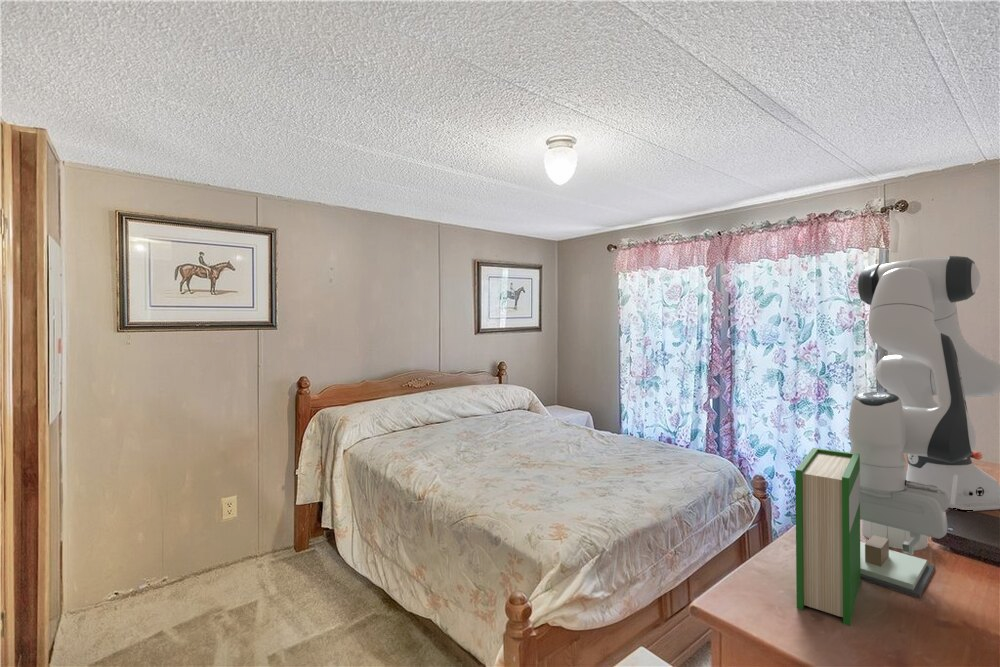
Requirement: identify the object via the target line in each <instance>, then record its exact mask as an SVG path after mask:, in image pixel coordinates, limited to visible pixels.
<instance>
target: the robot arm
mask: <svg viewBox="0 0 1000 667" xmlns="http://www.w3.org/2000/svg"><path fill="white" fill-rule="evenodd" d="M980 282H981V272H980V270H979V268H978V267H977V265H976V264H975V261H974V260H973V259H971V258H969V257H968V256H959V255H958V256H957V255H950V256H949V257H920V258H913V259H907V260H900V261H893V262H889V263H884V264H881V263H876V264H872V265H870V266H866V267H865V268H864V269H863V270H862V271H860V273H859V274H858V278H857V284H856V289H857V293H858V294H859V295H858V296H859V298H860V300H861V301H862V302H864V303H866V305H869V306H870V308H869V314H868V315H869V316H868V334H869V337H870V338H871V340H872V341H874V343H875V344H876V345H877V346H878V347H880V348H882V349H883V350H885V351H886V352H889V353H891V355H889V354H888V355H884V356H883V357H882V358H881V359H880V360H879V361H877V363H876V366H875V370H874V374H875V377H876V380H877V382H878V384H879V385H880V386H881V387H882V388H884V389H885V390H886V391H888V392H886V391H876V390H875V391H874V390H872V391H863V392H860V393H857V394H855V395H854V396H853V397H852V399H851V403H850V404H851V405H850V411H849V416H848V417H849V418H848V419H849V420H848V439H849V441H850V444H851V446H850V451H849V453H857V454H860V521H862V520H865V521H869V522H873V523H877V524H881V525H885V526H889V527H893V528H897V529H901V530H905V531H909V532H910V537H912V538H913V539H912V540H911V541H910V542H907V541H904V543H903V544H902V547H903V549H901V550H902V553H903V554H907V555H910V556H914V554H915V550H914V545H915V544H916V543H917V542H918V541H919V540H920V538H921V537H922V535H925V536H927V537H930V538H934V539H942V538H943V537H945V536H946V535H947V533H948V520H947V513H946V511H948V510H949V508H950V509H953V508H964V509H969V510H973V511H972V512H978V511H991V510H994V511H995V510H1000V483H999V481H998V480H997V479H996V478H994V477H993V476H991V475H990V474H989V473H987V472H985V471H984V470H982V469H981V468H980V467H978V466H977V465H975V464H974V463H973V461H972V459H974V460H978V461H979V460H982V459H983V453H981V452H980V451H975V448H976V443H977V437H976V435H977V434H976V431H975V428H974V425H973V422H972V420H971V418H970V415H969V412H968V407H967V401H966V398H969V399H970V398H984V397H985V398H987V397H993V396H995V395H997V394H998V393H1000V363H999V362H998V361H997V360H995V359H994V358H991V357H989V356H986V355H985V354H983V353H981V352H979V351H978V350H976V349H975V348H974V347H972V346H971V345H970V343H968V342H967V340H966V339H965V338H964V336H963V334H962V331H961V330H962V329H961V327H960V326H961V325H960V323H959V316H958V308H957V302H962V301H966V300H968V299H971V298H972V297H973V296H974V295H975V294H976V291H977V289H978V288H979V287H980V286H979V285H980V284H981V283H980ZM934 396H937V402H938V403H937V402H936V400H935V399H934ZM904 454H906V458H905V455H904ZM906 459H907V460H906Z"/></svg>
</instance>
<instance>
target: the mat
mask: <svg viewBox="0 0 1000 667" xmlns="http://www.w3.org/2000/svg"><path fill="white" fill-rule="evenodd" d="M935 569H936V565H934V564H931V563H928V562H927V566H926V568H925V570H924V572H923V573H922V575H921V577H920V579H919V581H918V583H917V584H916V586H915V588H914V590H911V589H908V588H905V587H902V586H898V585H895V584H892V583H889V582H886V581H883V580H880V579H877V578H873V577H870V576H867V575H864V574H861V573H860V576H861V580H862V581H866V582H870V583H872V584H875V585H878V586H881V587H885V588H888V589H890V590H893V591H897V592H900V593H903V594H906V595H908V596H911V597H915V598H918V599H920V598H921V596H922V594H923V592H924V591H925V588H926V587H927V585H928V582H929V581H930V578H931V576H932V575H933V573H934V571H935Z"/></svg>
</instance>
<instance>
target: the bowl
mask: <svg viewBox="0 0 1000 667" xmlns="http://www.w3.org/2000/svg"><path fill="white" fill-rule="evenodd" d="M861 531H862V536H863V537H865V538H867V539H868V540H869V539H870V538H871V537H872V536H873V535H875V536H879V537H883V538H887V539H889V548H894V549H897V550H898V549H899V550H902V549H903V547H902V544H903V543H904V541H907V542H910V541H911V540H912V539H913V538H912V537H910V532H909V531H905V530H901V529H897V528H893V527H889V526H885V525H881V524H877V523H873V522H869V521H865V520H861ZM925 547H927V548H928V536H925V535H922V537H921V538H920V540H919V541H918V542H917V543H916V544H915V545H914V551H922V550H924V549H926V548H925ZM923 548H924V549H923ZM921 549H922V550H921Z"/></svg>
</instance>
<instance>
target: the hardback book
mask: <svg viewBox="0 0 1000 667" xmlns="http://www.w3.org/2000/svg"><path fill="white" fill-rule="evenodd" d="M794 471H795V473H794V476H795V477H794V478H795V481H794V482H795V553H796V554H795V561H796V562H795V563H796V564H795V570H796V571H795V572H796V574H795V575H796V576H795V578H796V582H795V583H796V587H795V588H796V609H797V608H798V609H797V610H801V611H804V610H805V606H807V607H809V608H812V609H816V610H819V611H822V612H825V613H828V614H831V615H834V616H837V617H841V618H842V623H843V625H846V626H849V627H850V626H851V623H852V618H853V616H854V611H855V605H856V601H857V598H858V593H859V588H860V586H861V585H860V584H861V580H862V579H861V576H860V542H861V519H860V454H857V453H850V451H849V452H847V451H841V450H831V449H825V448H819V447H812V448H811V449H810V450H809V452H808V453H807V454H806V456H805V457H804V458H803V459H802V461H801V462H800V463H799V464H798V466H797V467H796V468H795V470H794Z"/></svg>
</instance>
